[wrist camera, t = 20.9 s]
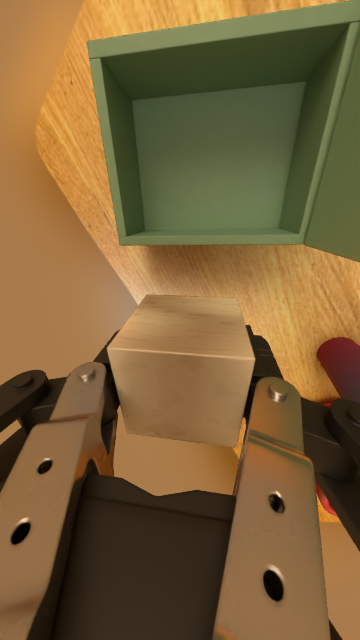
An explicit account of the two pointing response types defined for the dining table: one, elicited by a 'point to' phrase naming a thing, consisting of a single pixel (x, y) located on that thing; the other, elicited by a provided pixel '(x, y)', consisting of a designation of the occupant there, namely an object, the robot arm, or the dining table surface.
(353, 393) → the cup
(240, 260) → the dining table surface
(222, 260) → the dining table surface
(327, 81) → the box
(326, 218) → the lunchbox lid
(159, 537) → the robot arm
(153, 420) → the wooden block
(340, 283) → the dining table surface
